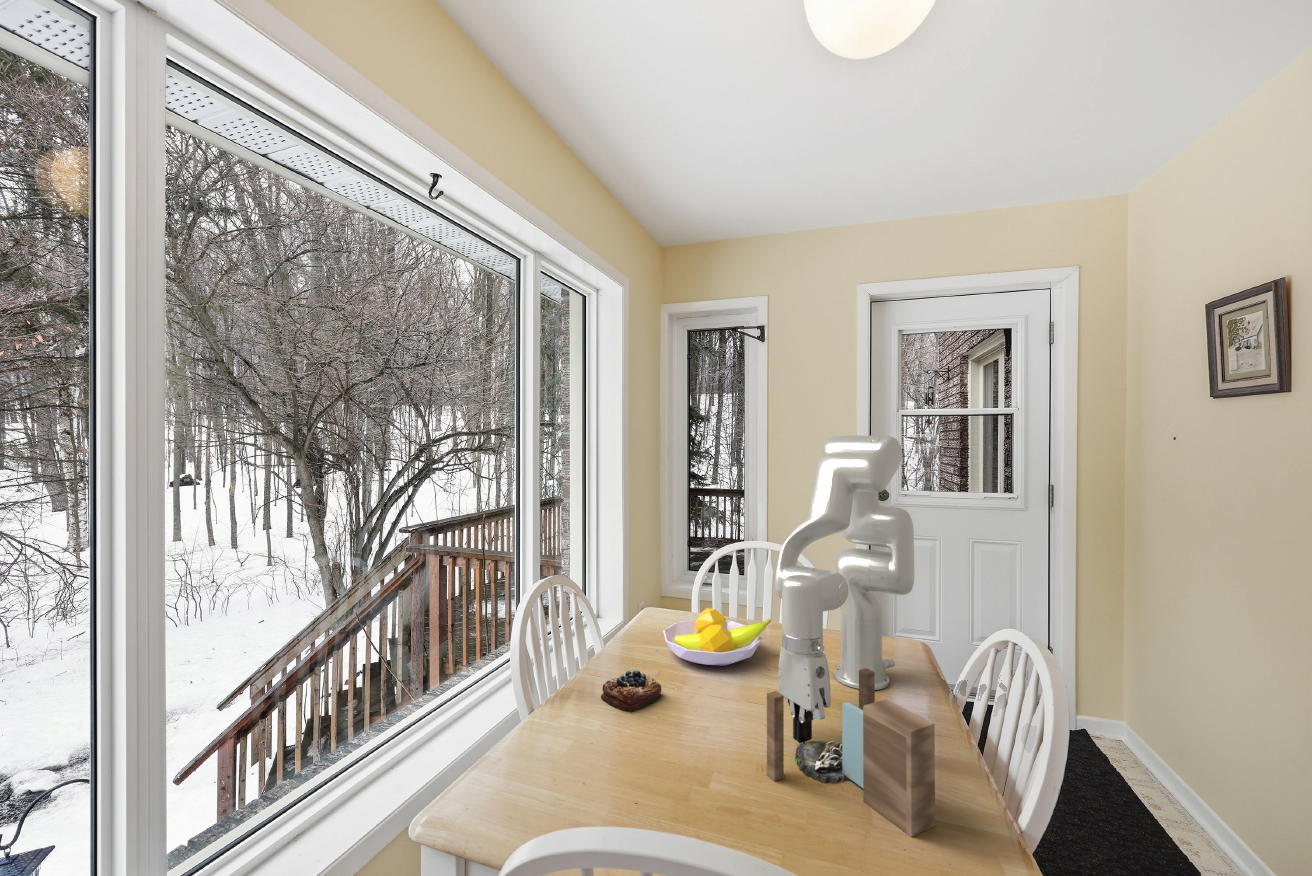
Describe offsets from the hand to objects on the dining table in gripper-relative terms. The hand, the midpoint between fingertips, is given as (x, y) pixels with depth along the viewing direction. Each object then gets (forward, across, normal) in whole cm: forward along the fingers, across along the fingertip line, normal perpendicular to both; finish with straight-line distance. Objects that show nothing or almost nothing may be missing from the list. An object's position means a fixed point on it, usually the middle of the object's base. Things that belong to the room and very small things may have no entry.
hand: (802, 739), depth 103 cm
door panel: (+1, -16, 0) cm, 16 cm away
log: (+2, -6, 0) cm, 7 cm away
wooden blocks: (+1, -15, 0) cm, 15 cm away
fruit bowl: (+1, +44, -9) cm, 45 cm away
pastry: (+2, +32, +21) cm, 39 cm away
